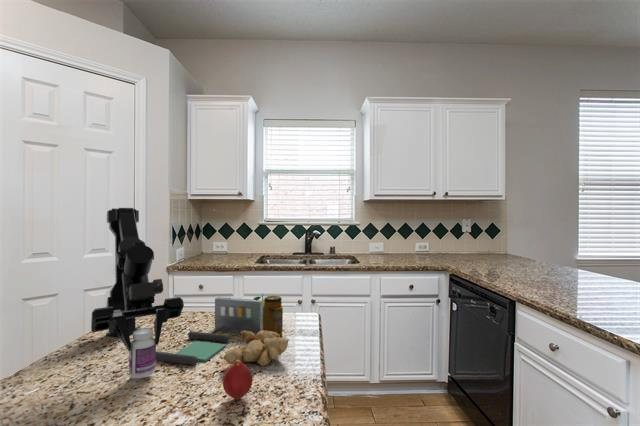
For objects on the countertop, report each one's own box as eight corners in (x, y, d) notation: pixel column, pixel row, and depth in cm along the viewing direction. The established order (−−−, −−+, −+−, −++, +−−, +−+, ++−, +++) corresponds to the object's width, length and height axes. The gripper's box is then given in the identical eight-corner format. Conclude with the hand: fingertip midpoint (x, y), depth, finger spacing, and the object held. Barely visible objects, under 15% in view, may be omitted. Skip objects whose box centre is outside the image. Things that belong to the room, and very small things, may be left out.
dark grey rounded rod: (150, 360, 82) (150, 352, 82) (156, 357, 84) (156, 349, 84) (194, 366, 79) (195, 358, 79) (199, 363, 81) (199, 355, 81)
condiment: (279, 331, 104) (280, 293, 104) (289, 340, 96) (289, 300, 97) (257, 334, 101) (257, 296, 101) (265, 344, 93) (265, 302, 93)
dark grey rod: (188, 339, 97) (188, 332, 97) (192, 336, 99) (192, 330, 99) (227, 343, 94) (227, 336, 94) (230, 341, 95) (230, 334, 96)
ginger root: (293, 340, 93) (291, 315, 91) (286, 381, 77) (284, 351, 76) (239, 341, 93) (237, 316, 92) (222, 382, 78) (218, 353, 76)
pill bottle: (160, 368, 76) (161, 327, 76) (146, 379, 70) (146, 335, 71) (139, 367, 76) (139, 326, 76) (123, 378, 71) (123, 334, 71)
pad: (171, 357, 84) (171, 355, 84) (195, 343, 94) (195, 341, 94) (205, 362, 82) (205, 359, 82) (226, 346, 91) (226, 344, 91)
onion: (226, 392, 68) (226, 353, 68) (253, 390, 68) (254, 353, 68) (219, 408, 62) (220, 366, 62) (250, 407, 62) (250, 365, 63)
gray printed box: (213, 330, 104) (213, 299, 104) (218, 327, 107) (218, 297, 107) (258, 335, 100) (258, 302, 100) (262, 331, 103) (262, 300, 103)
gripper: (92, 272, 70) (94, 339, 62) (182, 265, 82) (195, 320, 73) (90, 300, 77) (92, 364, 68) (174, 290, 88) (184, 343, 79)
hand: (143, 346), depth 72 cm, fingers closed on pill bottle, 5 cm apart
